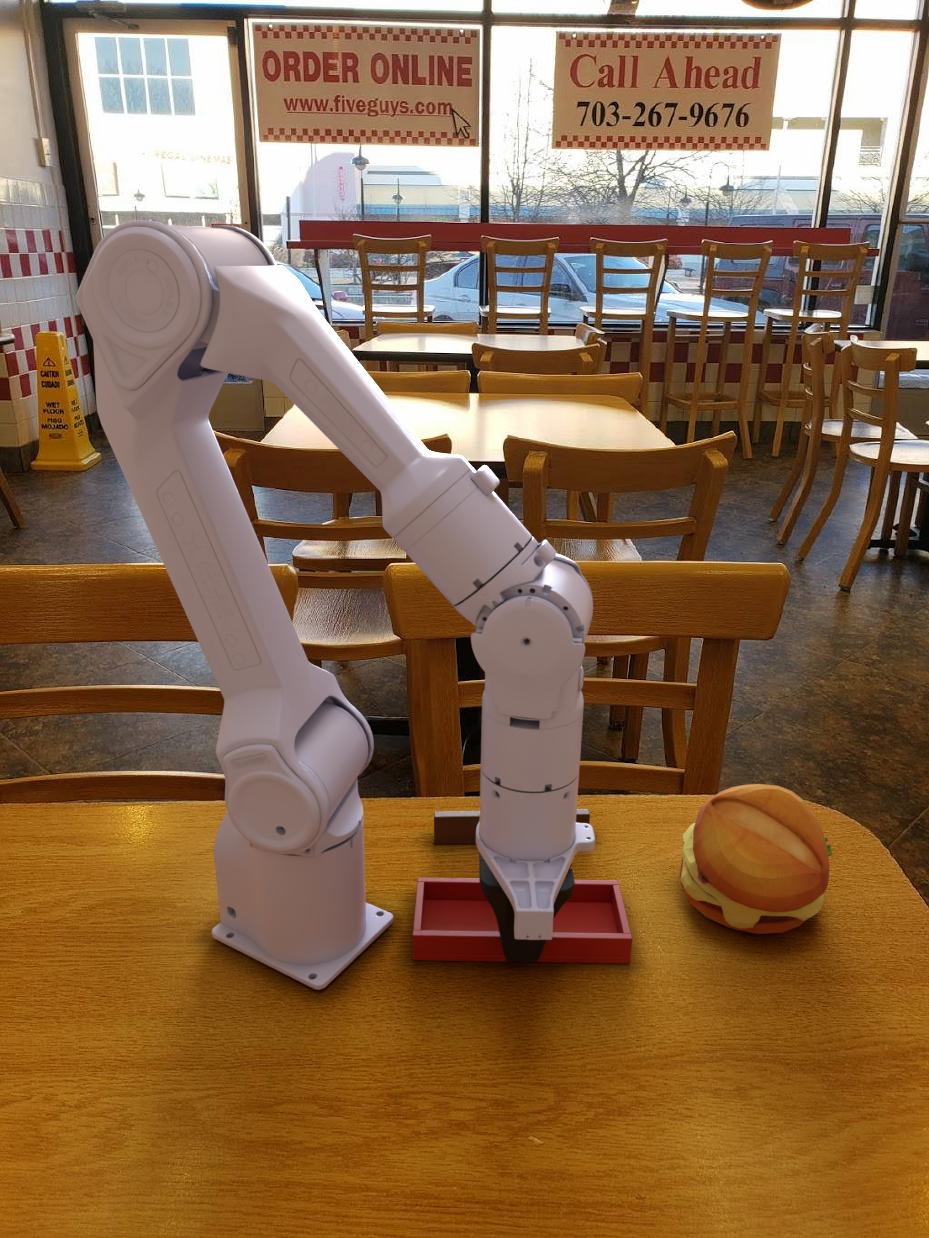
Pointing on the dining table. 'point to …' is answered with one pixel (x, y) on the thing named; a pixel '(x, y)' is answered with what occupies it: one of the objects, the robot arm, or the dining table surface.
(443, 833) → the back rail
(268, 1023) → the dining table surface
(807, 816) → the cheeseburger
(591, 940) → the tray
